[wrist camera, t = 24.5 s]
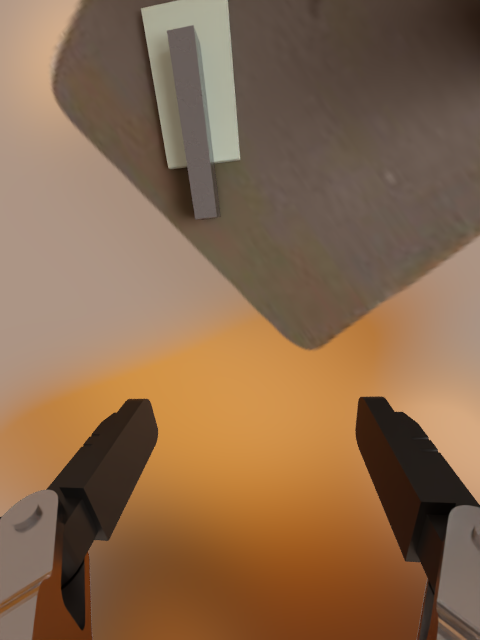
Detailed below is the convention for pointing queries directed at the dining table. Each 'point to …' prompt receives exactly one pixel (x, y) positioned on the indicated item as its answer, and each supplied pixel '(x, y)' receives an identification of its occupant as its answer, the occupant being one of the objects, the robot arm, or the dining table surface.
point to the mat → (214, 35)
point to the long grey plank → (194, 119)
